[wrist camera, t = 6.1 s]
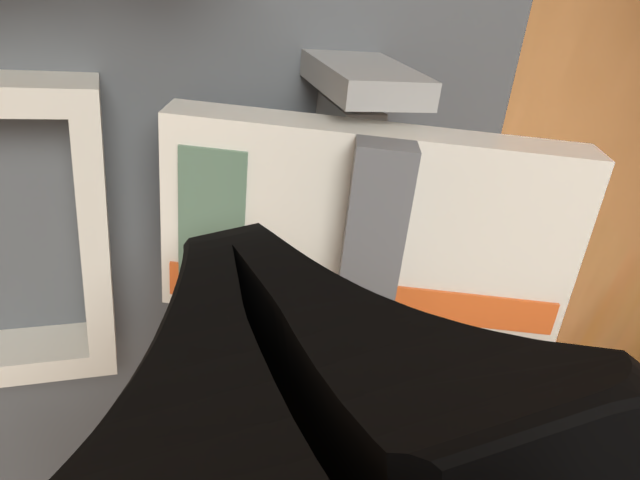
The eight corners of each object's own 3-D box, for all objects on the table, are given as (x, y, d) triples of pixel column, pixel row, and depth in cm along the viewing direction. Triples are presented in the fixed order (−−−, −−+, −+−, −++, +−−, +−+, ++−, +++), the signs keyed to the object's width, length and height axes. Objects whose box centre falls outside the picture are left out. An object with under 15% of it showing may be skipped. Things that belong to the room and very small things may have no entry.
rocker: (593, 143, 13) (632, 176, 11) (539, 315, 15) (565, 367, 13) (174, 97, 13) (145, 123, 11) (175, 276, 15) (152, 322, 13)
